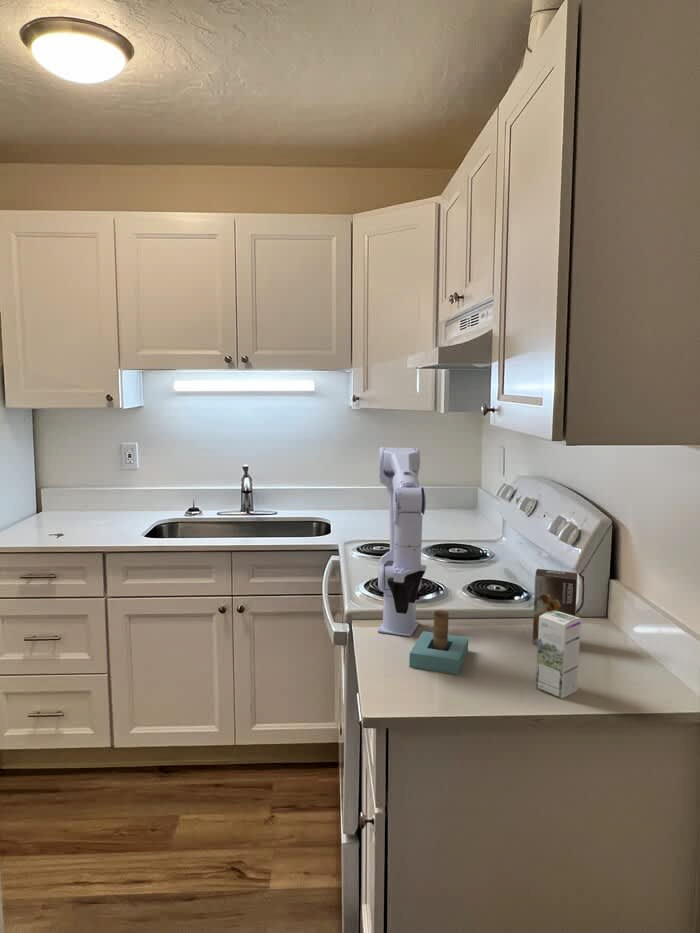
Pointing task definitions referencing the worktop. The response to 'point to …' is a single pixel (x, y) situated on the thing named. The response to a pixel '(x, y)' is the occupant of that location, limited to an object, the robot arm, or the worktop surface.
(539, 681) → the syrup box
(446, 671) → the hole block
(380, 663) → the worktop surface
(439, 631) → the walnut peg
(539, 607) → the coffee box
